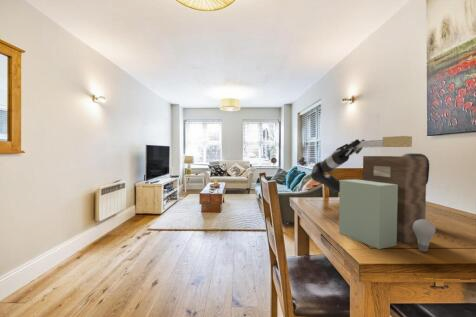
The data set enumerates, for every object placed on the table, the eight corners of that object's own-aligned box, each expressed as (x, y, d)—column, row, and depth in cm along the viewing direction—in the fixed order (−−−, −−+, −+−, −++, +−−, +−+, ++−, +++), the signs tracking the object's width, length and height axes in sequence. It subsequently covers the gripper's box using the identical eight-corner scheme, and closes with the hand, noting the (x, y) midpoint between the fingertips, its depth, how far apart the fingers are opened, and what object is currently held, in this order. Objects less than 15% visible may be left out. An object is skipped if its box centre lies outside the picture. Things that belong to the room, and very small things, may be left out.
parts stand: (381, 226, 108) (382, 156, 107) (424, 239, 91) (426, 156, 91) (361, 229, 103) (362, 156, 103) (403, 244, 87) (405, 156, 86)
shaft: (357, 147, 116) (358, 139, 115) (411, 146, 92) (412, 136, 92) (349, 147, 114) (349, 139, 113) (402, 146, 90) (402, 136, 90)
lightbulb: (439, 256, 76) (440, 222, 76) (417, 254, 78) (418, 221, 77) (428, 249, 82) (428, 217, 82) (408, 247, 84) (409, 216, 83)
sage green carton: (355, 230, 102) (355, 179, 102) (396, 245, 85) (397, 184, 85) (338, 232, 99) (339, 180, 98) (378, 249, 82) (380, 185, 82)
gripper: (349, 164, 125) (376, 148, 111) (329, 165, 120) (353, 147, 106) (344, 152, 129) (369, 134, 115) (323, 152, 123) (347, 133, 109)
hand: (361, 141), depth 110 cm, fingers closed on shaft, 3 cm apart
